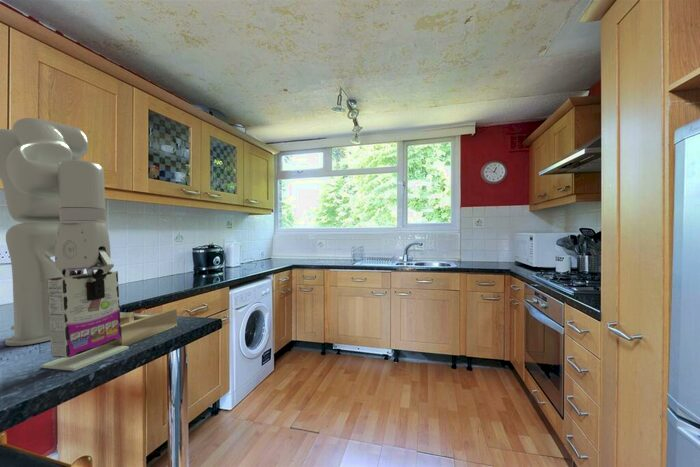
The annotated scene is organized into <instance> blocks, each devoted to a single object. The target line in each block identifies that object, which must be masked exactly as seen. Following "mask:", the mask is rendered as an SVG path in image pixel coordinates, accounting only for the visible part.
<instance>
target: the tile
mask: <svg viewBox="0 0 700 467" xmlns="http://www.w3.org/2000/svg"><path fill="white" fill-rule="evenodd" d="M129 346H130V345H128V346H117V345H102V346H99V347H97V348H94V349H91V350H89V351H86V352H83V353H81V354H78V355H75V356H73V357H70V358H62V357H58V358H57V359H55V360H52V361H48V362H45V363H43V364H41V368H43V369H51V370H53V369H54V370H63V371H73V372H75V371H77V370H78V371H79V370H80V369H82V368H85V367H88V366H90V365H93V364H94V363H97V362H100V361H102V360H104V359H107V358H110V357H112V356H114V355H116V354H119V353H122V352H124V351H127V350H129V349H130V348H129Z"/></svg>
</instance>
